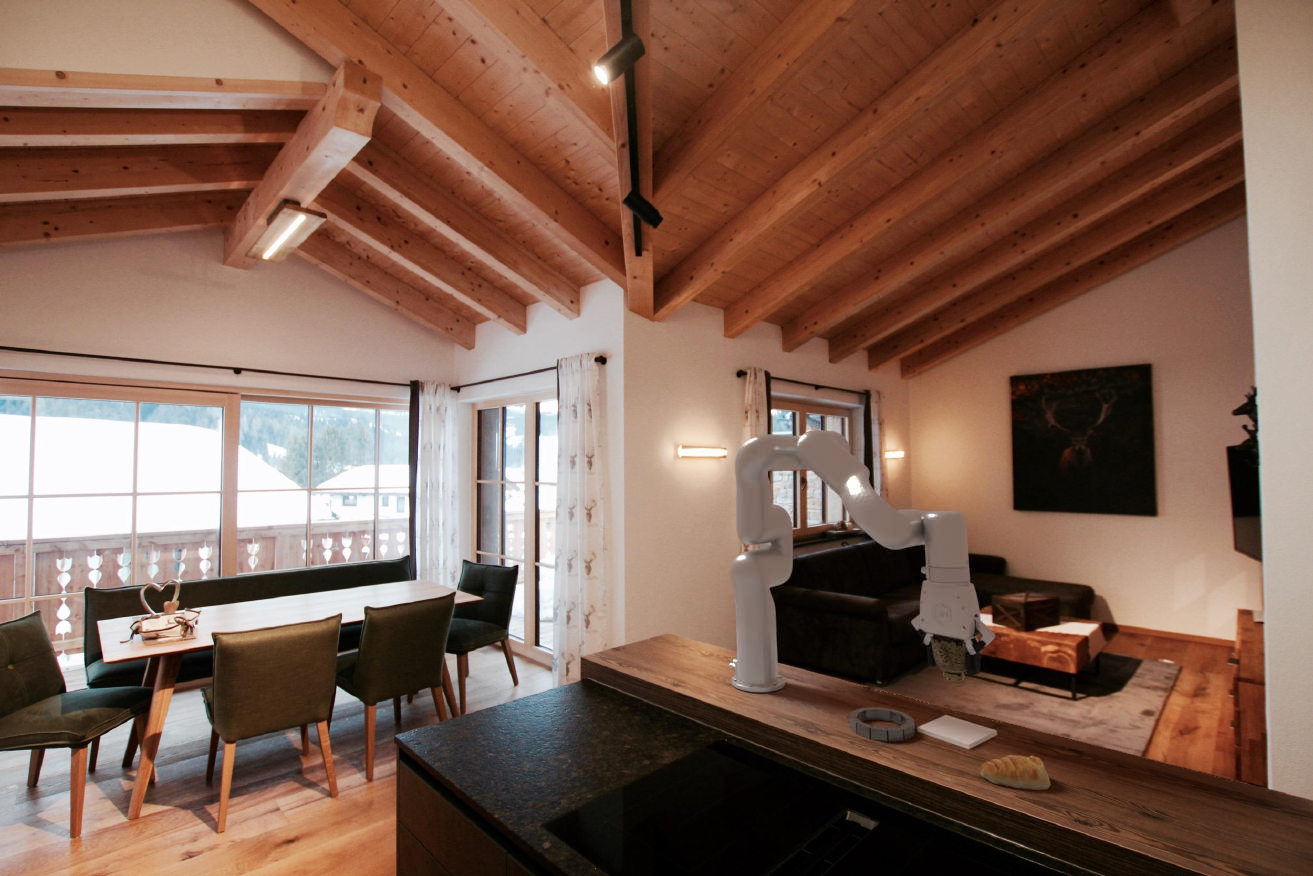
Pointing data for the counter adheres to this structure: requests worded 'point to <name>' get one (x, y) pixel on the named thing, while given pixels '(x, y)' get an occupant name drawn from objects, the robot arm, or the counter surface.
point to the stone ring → (881, 732)
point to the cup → (950, 656)
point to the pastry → (1017, 772)
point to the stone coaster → (957, 731)
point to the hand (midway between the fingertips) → (953, 669)
